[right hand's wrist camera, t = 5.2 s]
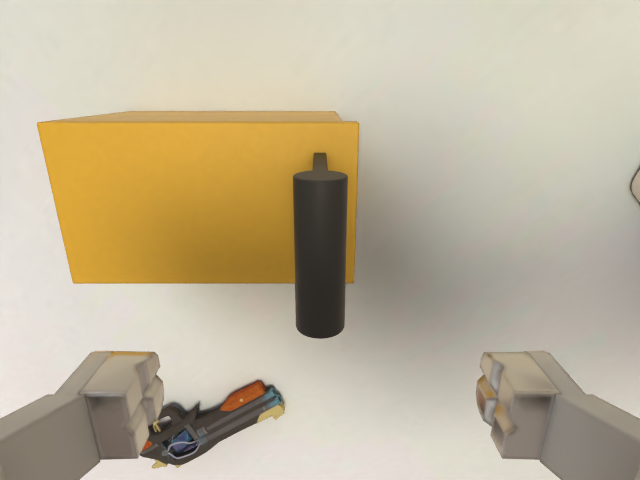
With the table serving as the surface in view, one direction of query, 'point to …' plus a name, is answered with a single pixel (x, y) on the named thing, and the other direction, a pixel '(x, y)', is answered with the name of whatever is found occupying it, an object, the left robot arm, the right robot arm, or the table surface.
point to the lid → (211, 205)
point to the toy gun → (209, 425)
